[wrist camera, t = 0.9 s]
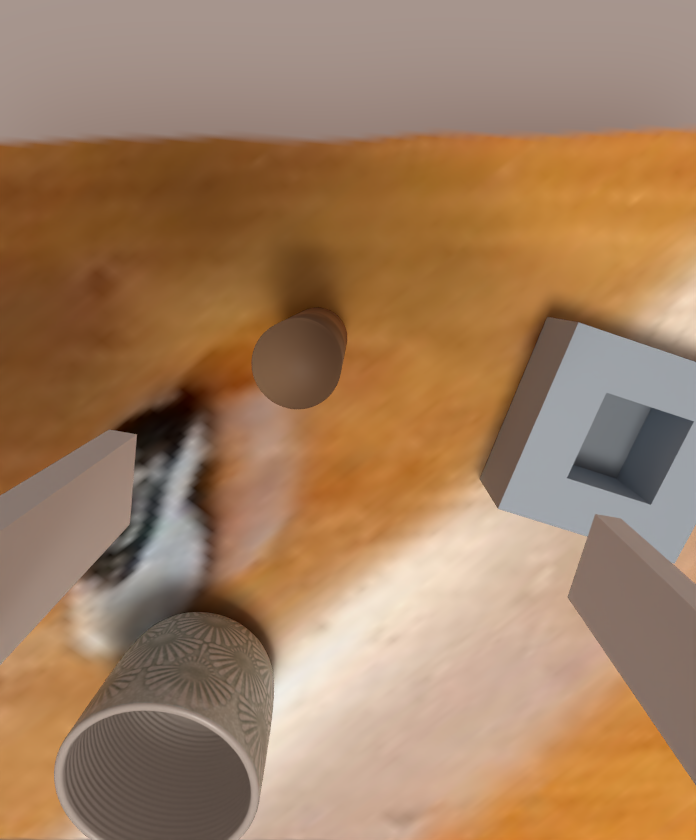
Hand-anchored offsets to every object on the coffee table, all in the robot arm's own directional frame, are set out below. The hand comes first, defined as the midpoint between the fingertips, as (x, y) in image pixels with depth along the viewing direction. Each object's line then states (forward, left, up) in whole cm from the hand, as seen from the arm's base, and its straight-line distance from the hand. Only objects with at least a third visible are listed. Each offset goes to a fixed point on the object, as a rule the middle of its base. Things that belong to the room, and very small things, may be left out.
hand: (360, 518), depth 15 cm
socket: (+16, +2, -21) cm, 27 cm away
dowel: (-4, +2, -21) cm, 22 cm away
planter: (-4, -25, -22) cm, 34 cm away
